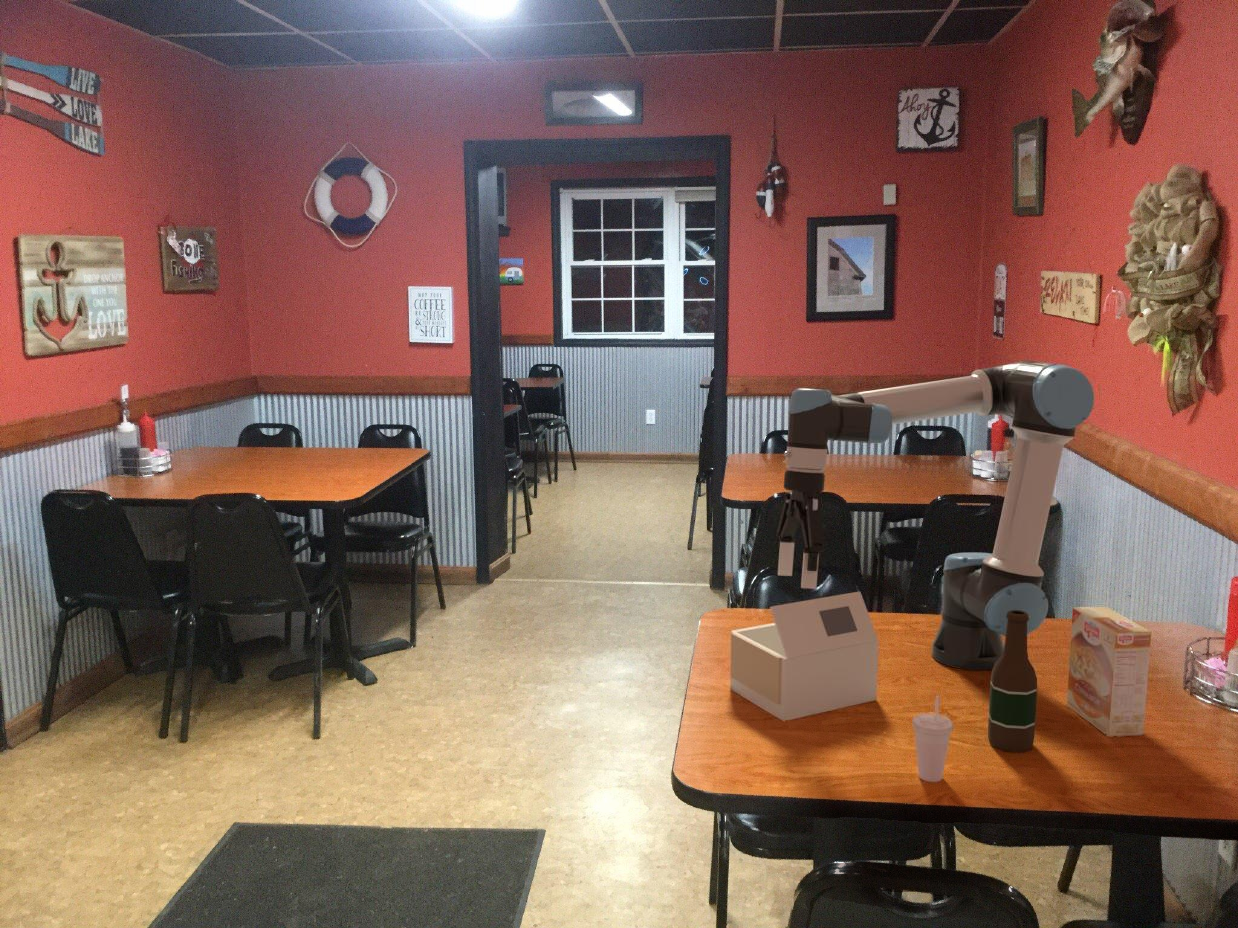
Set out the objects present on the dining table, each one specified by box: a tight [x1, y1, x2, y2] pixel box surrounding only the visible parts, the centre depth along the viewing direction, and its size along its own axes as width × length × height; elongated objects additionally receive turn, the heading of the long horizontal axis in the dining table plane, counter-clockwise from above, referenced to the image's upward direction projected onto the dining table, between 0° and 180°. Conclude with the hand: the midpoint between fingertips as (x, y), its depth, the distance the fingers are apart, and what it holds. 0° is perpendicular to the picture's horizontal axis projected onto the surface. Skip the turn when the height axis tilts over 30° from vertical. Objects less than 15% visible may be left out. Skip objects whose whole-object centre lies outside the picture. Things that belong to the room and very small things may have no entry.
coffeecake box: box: [1065, 606, 1152, 738], centre depth 196 cm, size 15×7×20 cm, turn 5°
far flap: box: [769, 591, 879, 659], centre depth 202 cm, size 10×21×1 cm
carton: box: [729, 622, 880, 722], centre depth 210 cm, size 19×23×12 cm
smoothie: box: [911, 694, 954, 783], centre depth 174 cm, size 6×6×14 cm
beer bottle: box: [987, 610, 1038, 754], centre depth 185 cm, size 8×8×24 cm
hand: (796, 581), depth 203 cm, fingers open, 13 cm apart
